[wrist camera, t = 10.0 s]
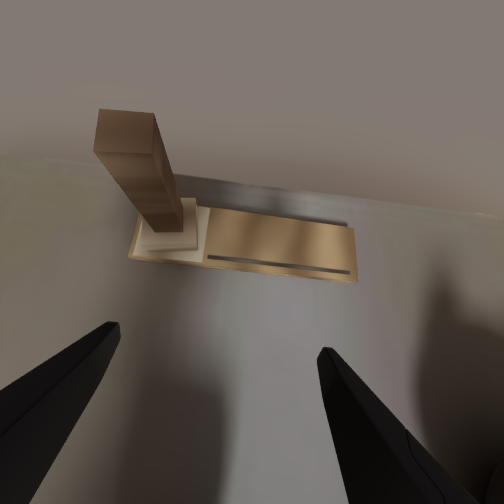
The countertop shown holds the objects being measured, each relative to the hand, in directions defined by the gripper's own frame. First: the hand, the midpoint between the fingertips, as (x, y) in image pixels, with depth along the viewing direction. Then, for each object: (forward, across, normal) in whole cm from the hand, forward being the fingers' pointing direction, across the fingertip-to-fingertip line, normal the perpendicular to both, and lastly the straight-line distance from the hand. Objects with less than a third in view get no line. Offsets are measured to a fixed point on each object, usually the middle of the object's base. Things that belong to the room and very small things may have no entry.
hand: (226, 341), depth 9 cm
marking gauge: (+15, +7, +2) cm, 17 cm away
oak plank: (+16, -2, +3) cm, 17 cm away
